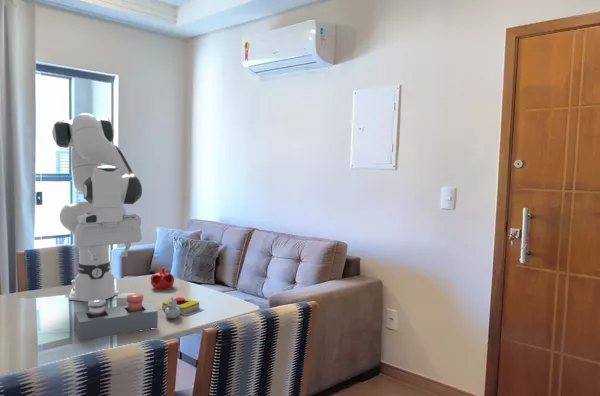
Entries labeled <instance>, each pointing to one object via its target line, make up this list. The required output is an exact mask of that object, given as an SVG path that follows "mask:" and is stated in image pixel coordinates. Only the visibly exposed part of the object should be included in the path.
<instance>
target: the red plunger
mask: <svg viewBox="0 0 600 396" xmlns="http://www.w3.org/2000/svg"><path fill="white" fill-rule="evenodd" d="M143 301H144V294H142V293H135V294H131V295H128V296H127V302H128V312H137V311H142V303H143Z"/></svg>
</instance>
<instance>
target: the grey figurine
mask: <svg viewBox="0 0 600 396" xmlns="http://www.w3.org/2000/svg"><path fill="white" fill-rule="evenodd" d="M173 299H174V298H173V297H171V298H170V299H169V302H168V308H166V310H164V314H165V317H166V318H167V319H176V318H178V317H179V316H180V309H179V305H177V301H176V300H175V299H174V300H173Z"/></svg>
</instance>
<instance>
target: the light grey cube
mask: <svg viewBox="0 0 600 396" xmlns="http://www.w3.org/2000/svg"><path fill="white" fill-rule="evenodd" d="M131 294H136V293H135V292H128V293H119V294H117V295H116V307H117V306H125V305H128V302H127V296H128V295H131Z"/></svg>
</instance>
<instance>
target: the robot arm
mask: <svg viewBox="0 0 600 396" xmlns="http://www.w3.org/2000/svg"><path fill="white" fill-rule="evenodd" d="M51 134H52V138H53V140H54V142H55V143H56V146H58V147H59V148H64V149H68V148H71V157H70V158H71V169H72V170H71V171H72V176H73V185H74V188H75V189H76V190H77V191H78V192H79V193H81V194H83V199H84V200H85V201H76V202H72V203H68V204H65V205H64V206H63V207H62V209H61V211H60V213H59V220H60V223H61V225H62V226H63V227H64V228H65V229H66V230H68V231H69V232H71V233H72V234H73V236H74V240H73V241H74V242H73V243H74V246H76V247H77V248H78V257H79V258H78V259H79V260H78V261H79V262H78V264H77V275H76V276H75V278H74V279H72V280H71V286H72V288H71V290H70V292H69V295H68V300H69V301H79V302H88V301H89V300H91V299H97V298H102V299H105V300H107V299H111V298H113V297H114V296H117V295H118V294H120V292H119V290H117V289H116V286H115V274H113V273H112V272H111V267H112V266H111V260H110V246H111V245H121V244H124V250H122V251H121V252H120V253H121V255H120V256H121V258H127V257H128V252H129V250H130V248H131V244H132V243H139V242H141V240H142V231H141V230H142V229H141V225H142V220H141V219H142V218H141V217H140V216H139V215H137V214H136V213H135V214H134V213H133V214H126V213H127V212H126V207H125V206H124V205H134V204H136V203H137V202H138V201H139V200H140V199H141V197H142V194H143V188H142V183H141V180H140V179H139V178H138V177H137V176H136V174H135V173H134V172H133V170H132V168H131V167H130V164H129V163H128V161H127V160H126V157H125V156H124V154H123V153H122V151H121V149H120V148H119V147H118V146H116V145H115V144H113V143H112V142H113V140H114V137H115V129H114V126H113V124H112V122H111V121H110V120H109V119H107V118H97V117H96V116H95V115H93V114H90V113H86V112H85V113H84V112H83V113H79V114H78V115H76V116H74V118H73V119H68V120H65V119H64V120H59V121H57V122H55V123H54V124H53V128H52V132H51ZM102 164H103V165H102Z"/></svg>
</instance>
